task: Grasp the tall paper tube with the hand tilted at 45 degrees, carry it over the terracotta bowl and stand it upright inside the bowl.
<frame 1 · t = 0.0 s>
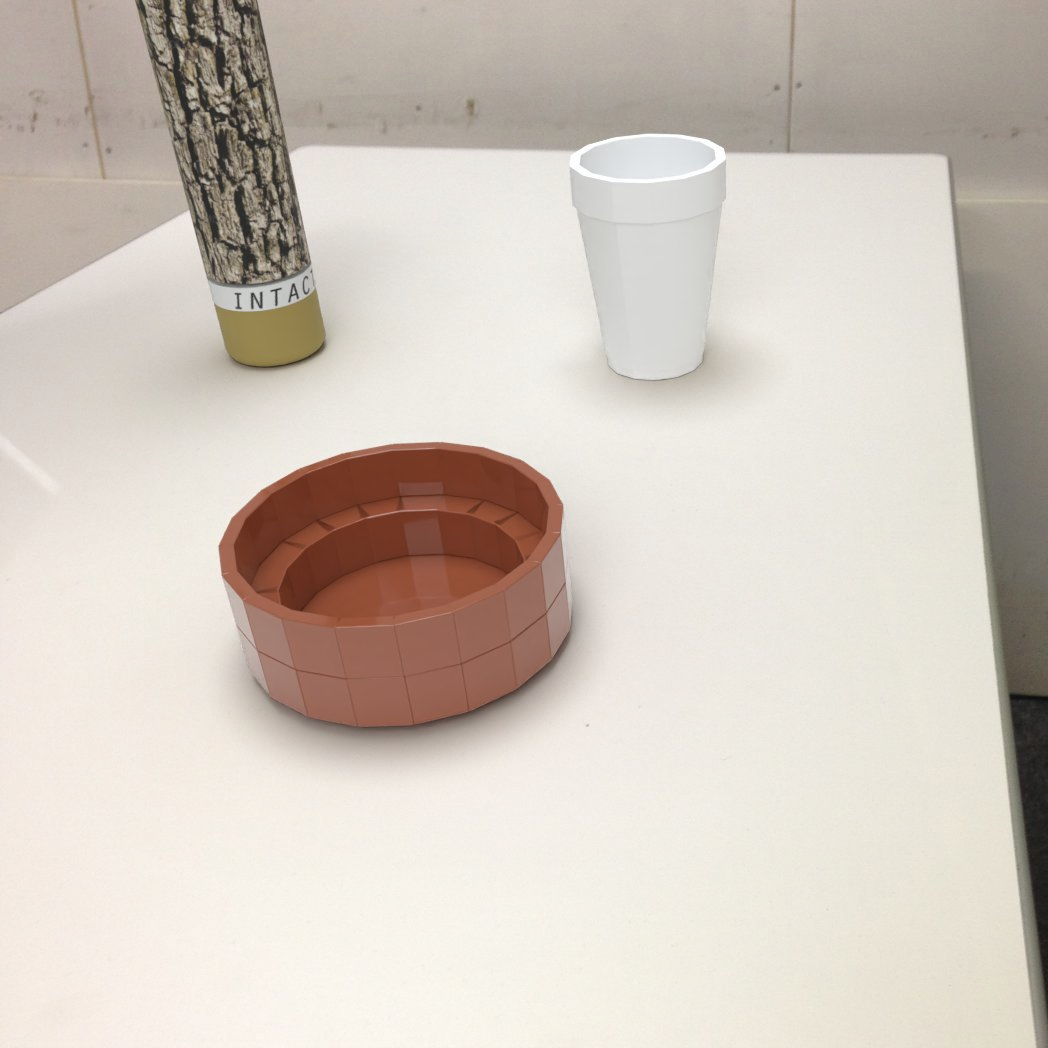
bowl: (413, 630, 62), on the table
foam cup: (655, 361, 84), on the table
paper tube: (278, 351, 88), on the table
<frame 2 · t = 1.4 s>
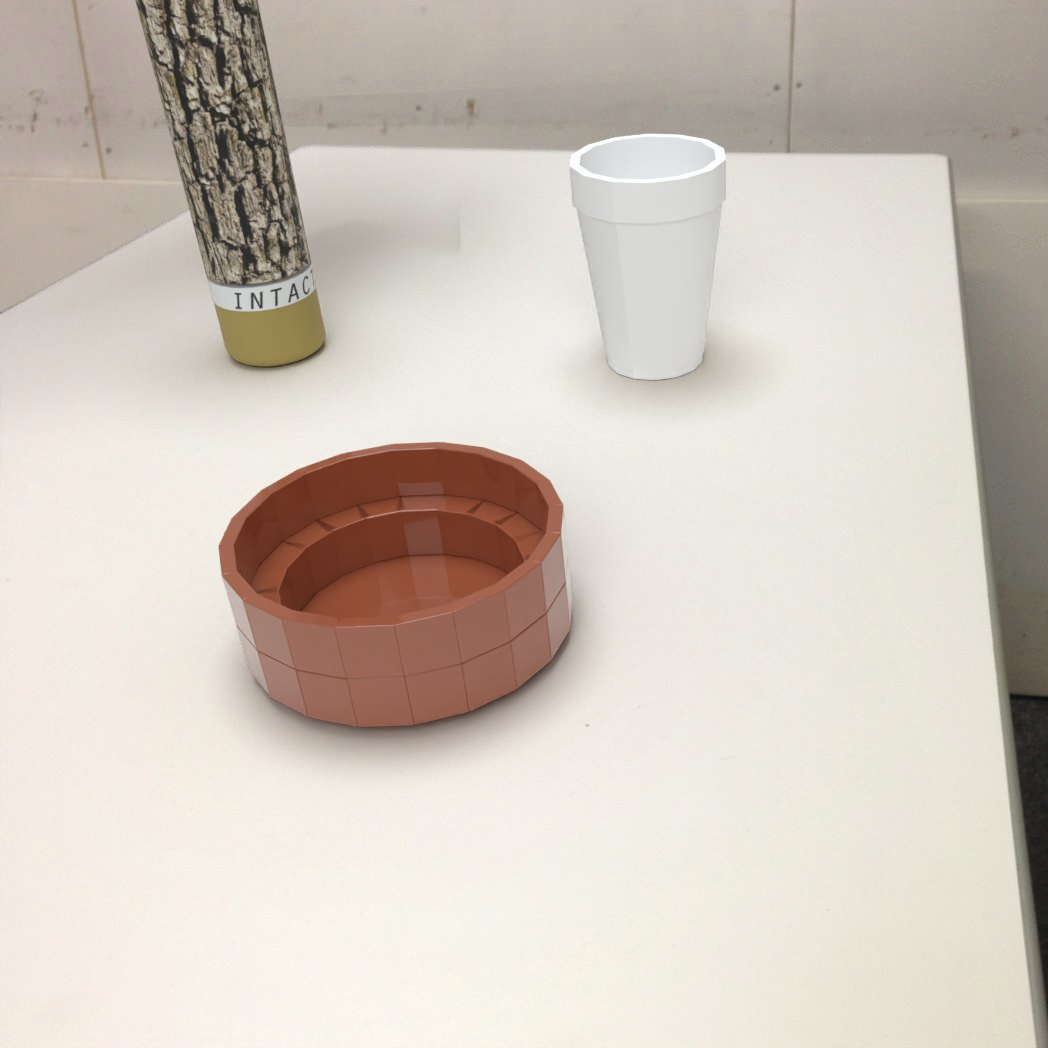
nothing on the table moved.
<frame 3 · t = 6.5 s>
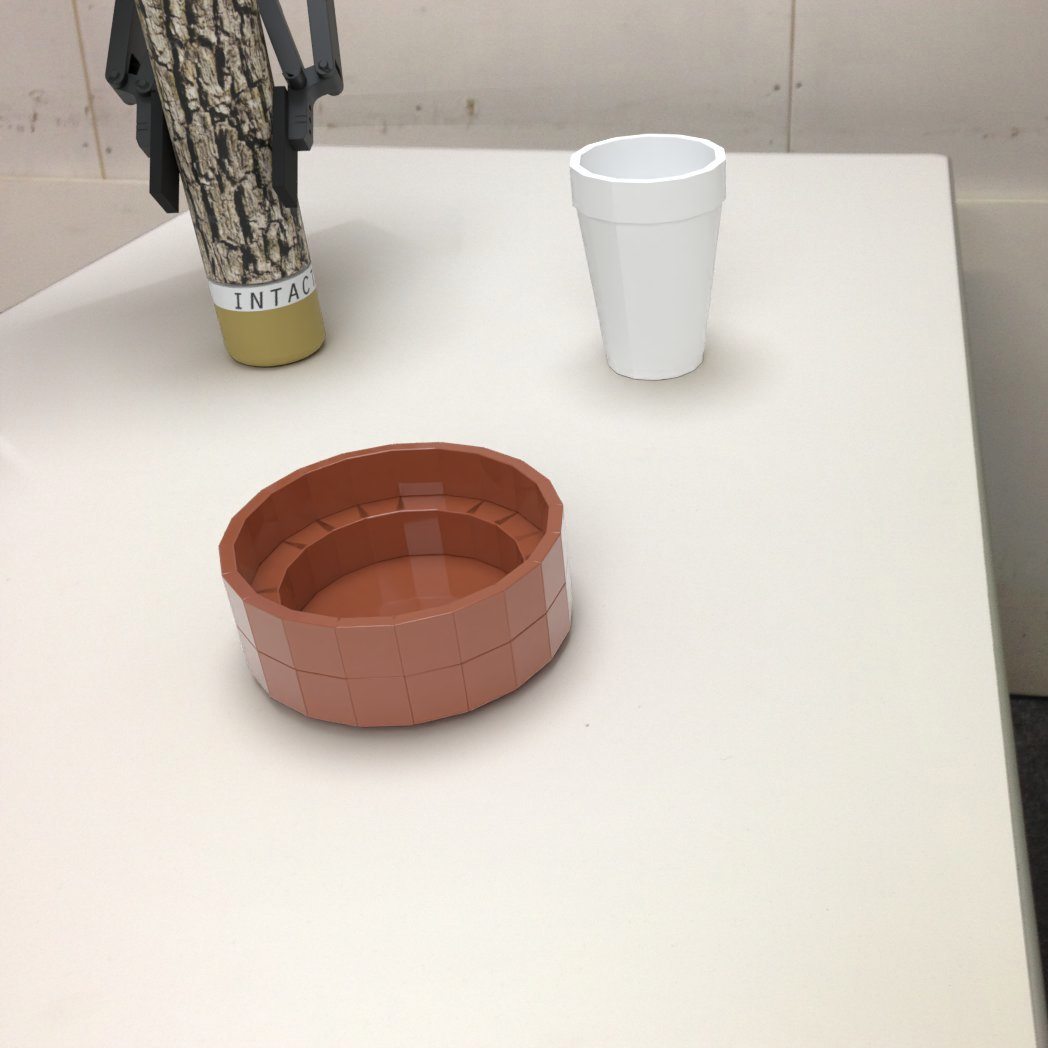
hand: (224, 199, 78), 11 cm above the table, tool tilted 45°, fingers closed on paper tube, 7 cm apart
paper tube: (278, 351, 88), on the table, touching gripper
everything else where it was.
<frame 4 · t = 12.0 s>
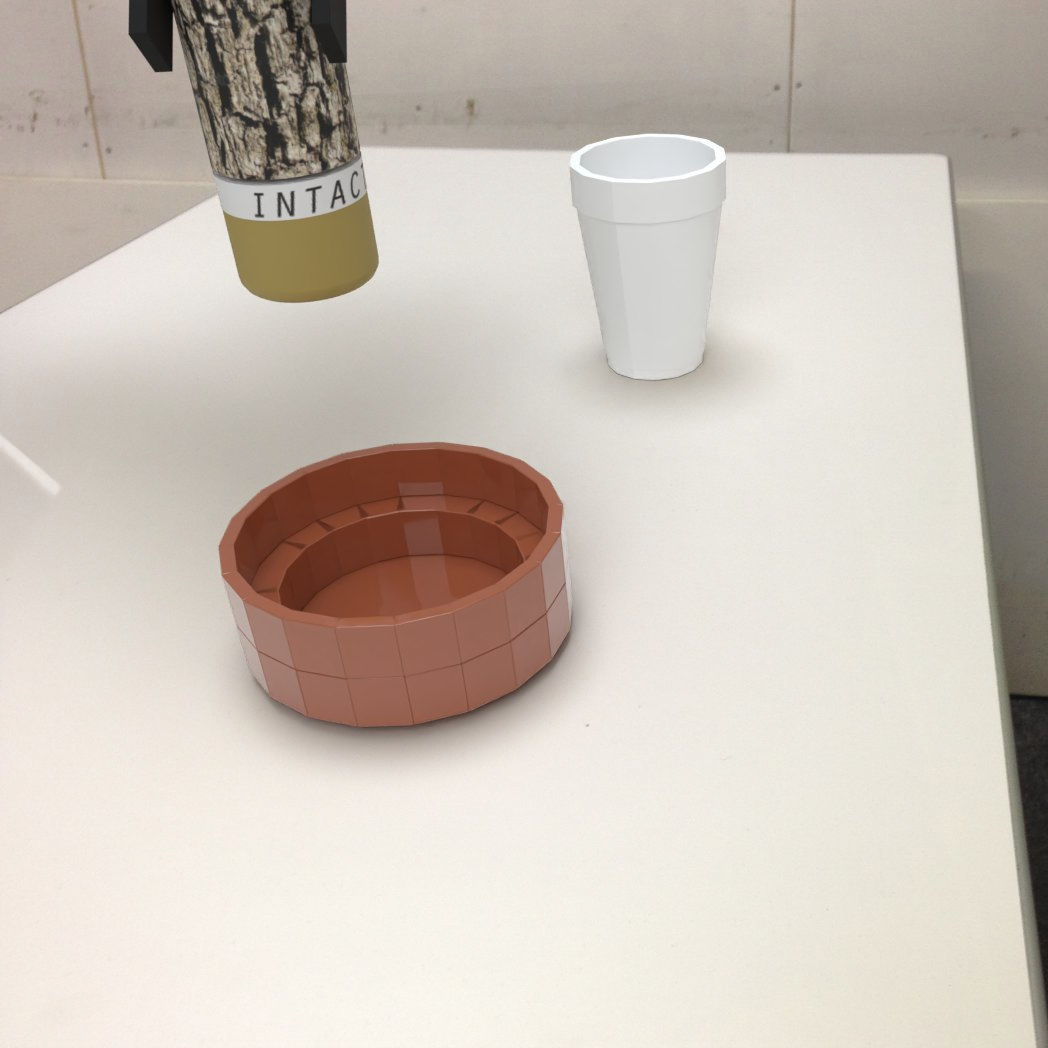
hand: (240, 48, 53), 25 cm above the table, tool tilted 45°, fingers closed on paper tube, 7 cm apart
paper tube: (313, 284, 63), point 13 cm above the table, touching gripper
everything else where it was.
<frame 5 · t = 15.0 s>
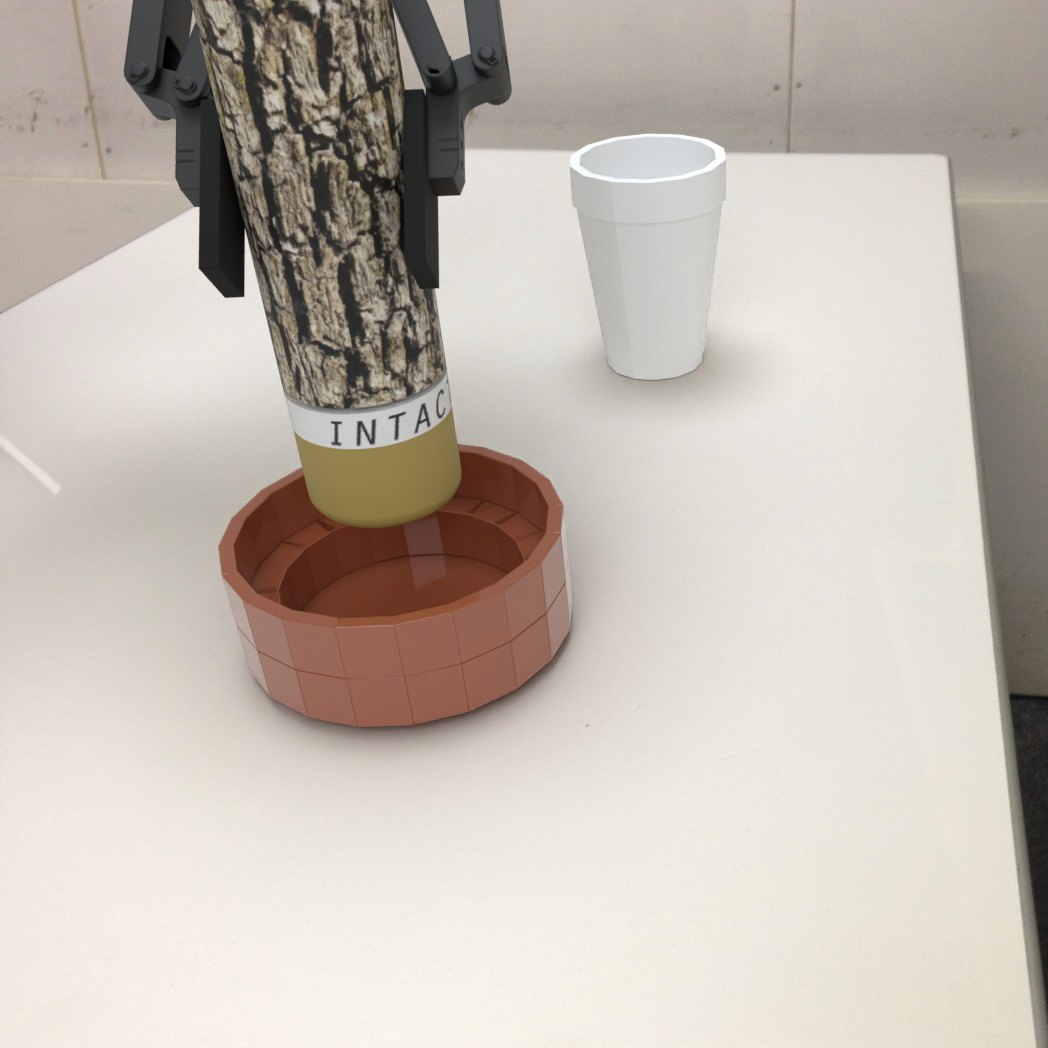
hand: (322, 277, 47), 19 cm above the table, tool tilted 45°, fingers closed on paper tube, 7 cm apart
paper tube: (388, 498, 57), point 7 cm above the table, touching gripper
everything else where it was.
when the fingers open (12 cm above the table, at t = 17.3 s): paper tube stays where it is, resting on bowl.
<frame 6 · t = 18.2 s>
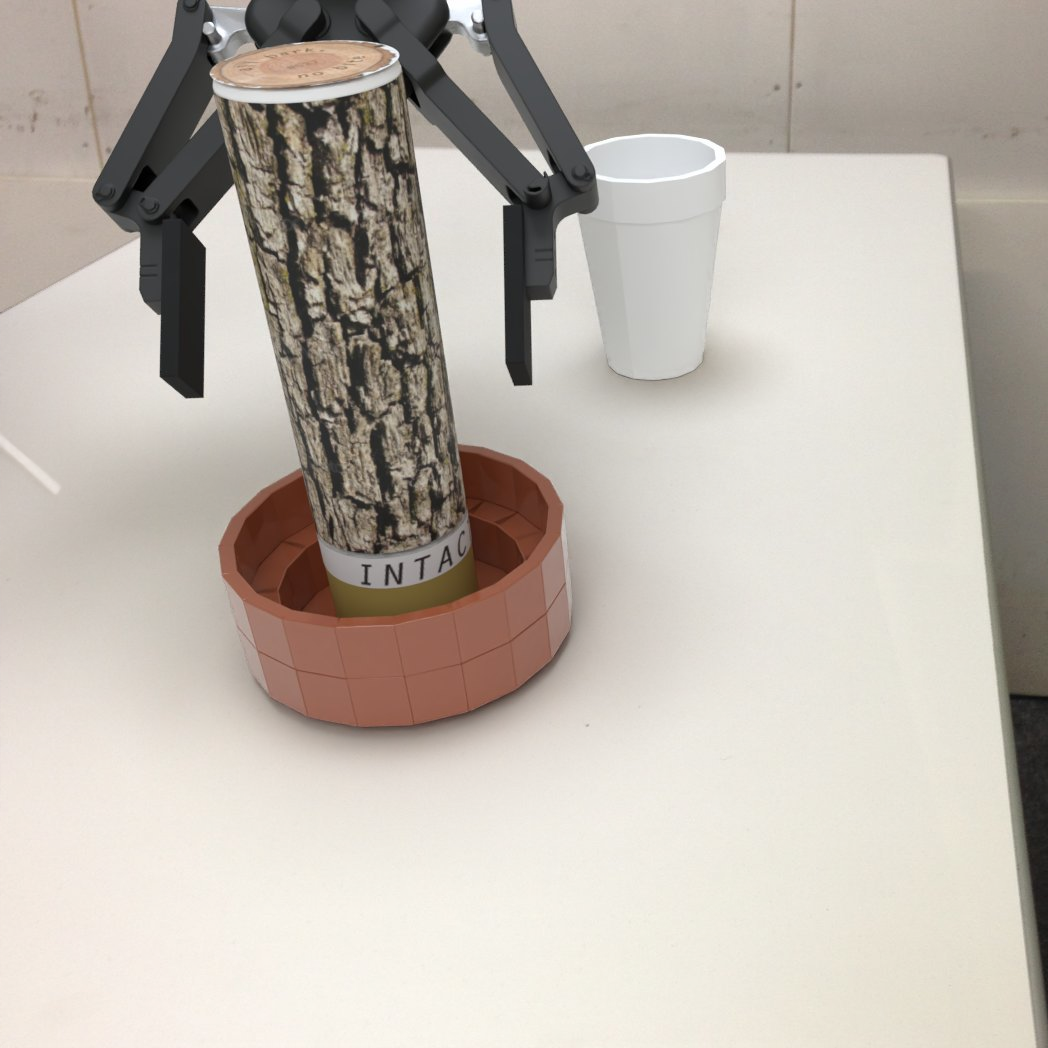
hand: (350, 382, 51), 14 cm above the table, tool tilted 45°, fingers open, 13 cm apart
paper tube: (412, 622, 61), resting on bowl
everything else where it was.
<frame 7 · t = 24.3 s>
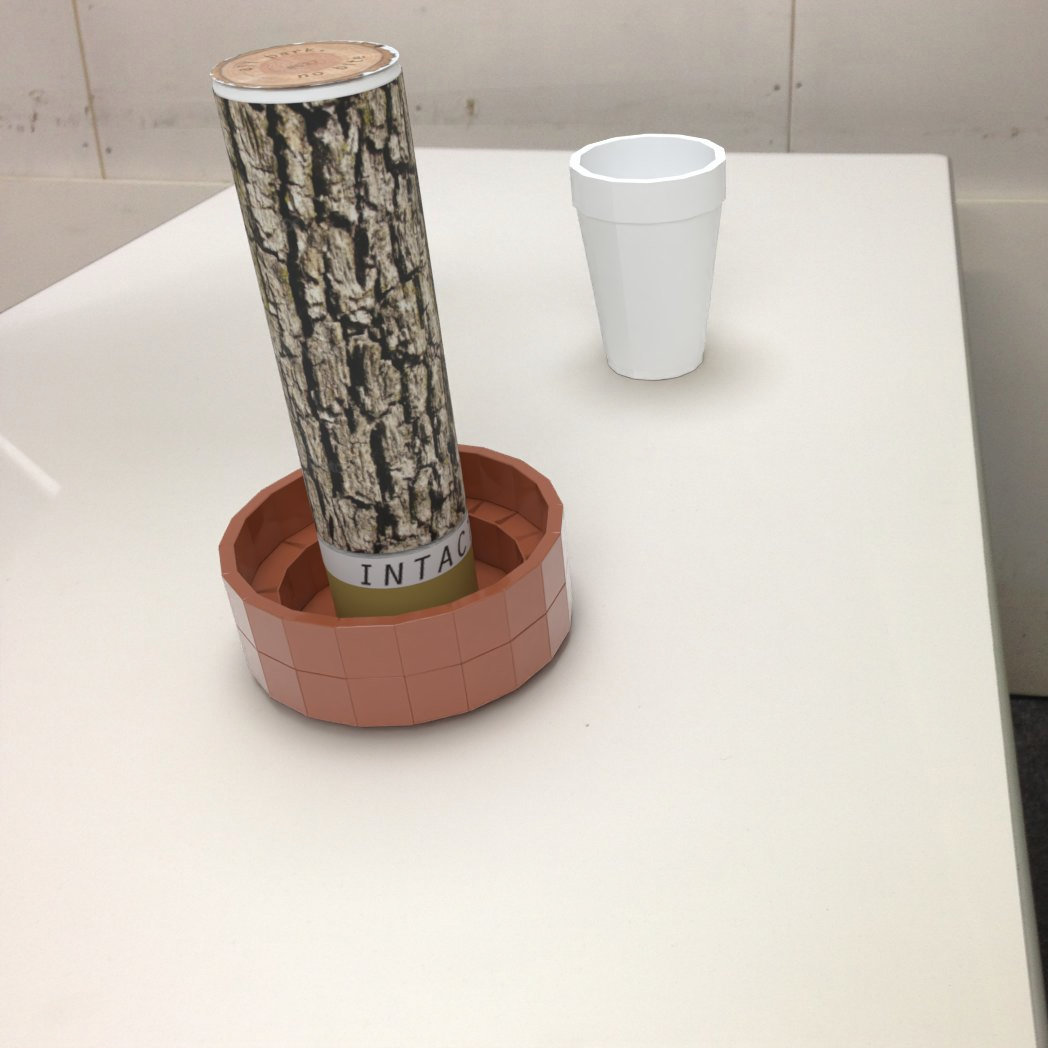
nothing on the table moved.
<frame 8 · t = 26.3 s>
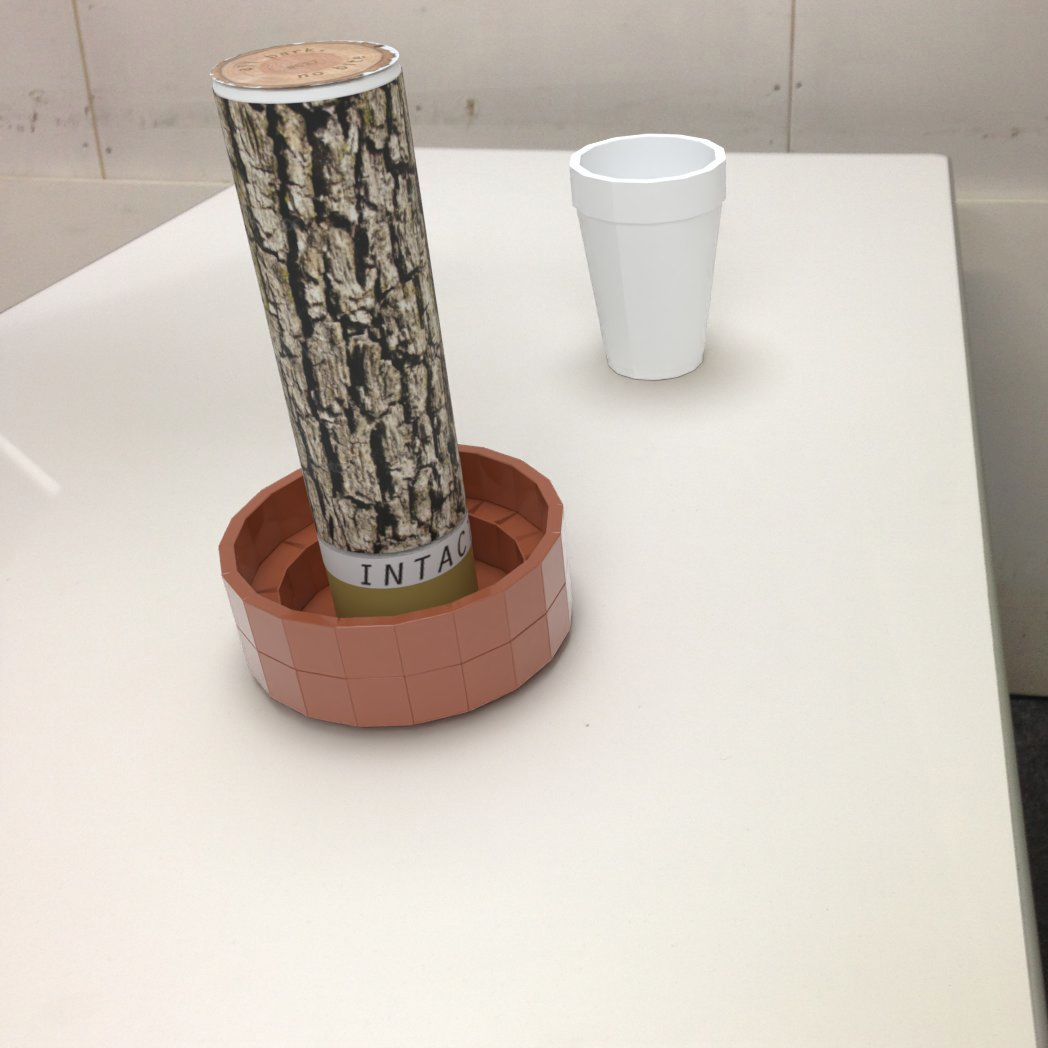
nothing on the table moved.
at the end: paper tube inside the target area in the bowl (0.1 cm from its centre), point 0.4 cm above the bowl's base; paper tube tilted 0°; the gripper is holding nothing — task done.
